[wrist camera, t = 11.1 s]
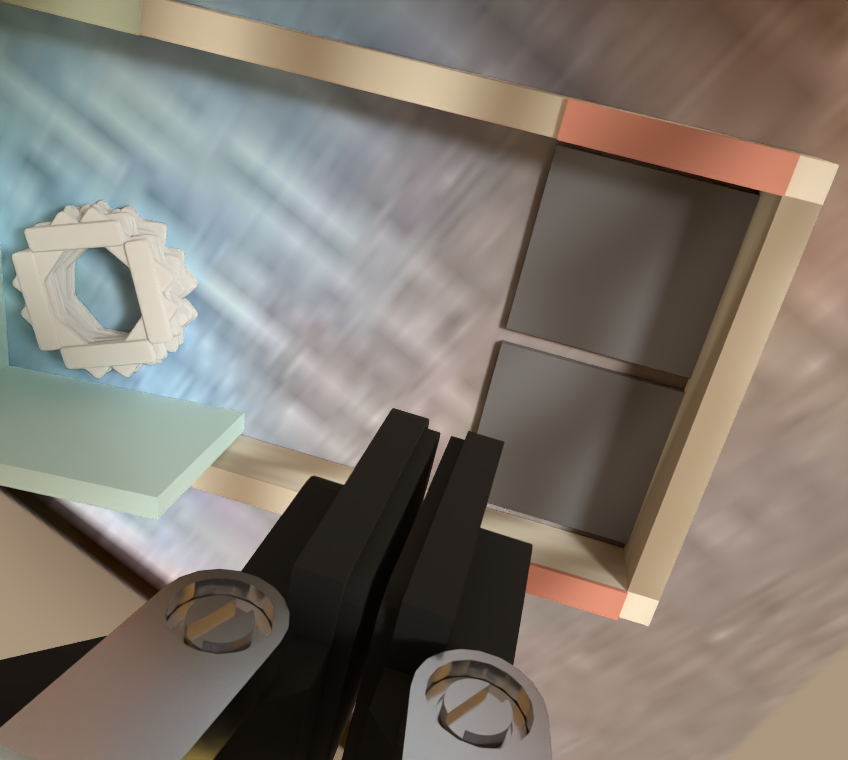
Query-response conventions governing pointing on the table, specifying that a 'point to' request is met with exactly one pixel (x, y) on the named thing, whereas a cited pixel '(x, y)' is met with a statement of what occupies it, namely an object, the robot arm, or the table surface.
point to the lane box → (572, 306)
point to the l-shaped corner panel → (98, 353)
